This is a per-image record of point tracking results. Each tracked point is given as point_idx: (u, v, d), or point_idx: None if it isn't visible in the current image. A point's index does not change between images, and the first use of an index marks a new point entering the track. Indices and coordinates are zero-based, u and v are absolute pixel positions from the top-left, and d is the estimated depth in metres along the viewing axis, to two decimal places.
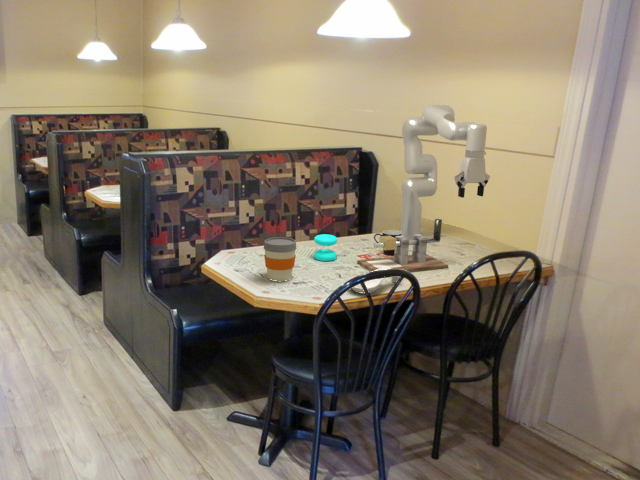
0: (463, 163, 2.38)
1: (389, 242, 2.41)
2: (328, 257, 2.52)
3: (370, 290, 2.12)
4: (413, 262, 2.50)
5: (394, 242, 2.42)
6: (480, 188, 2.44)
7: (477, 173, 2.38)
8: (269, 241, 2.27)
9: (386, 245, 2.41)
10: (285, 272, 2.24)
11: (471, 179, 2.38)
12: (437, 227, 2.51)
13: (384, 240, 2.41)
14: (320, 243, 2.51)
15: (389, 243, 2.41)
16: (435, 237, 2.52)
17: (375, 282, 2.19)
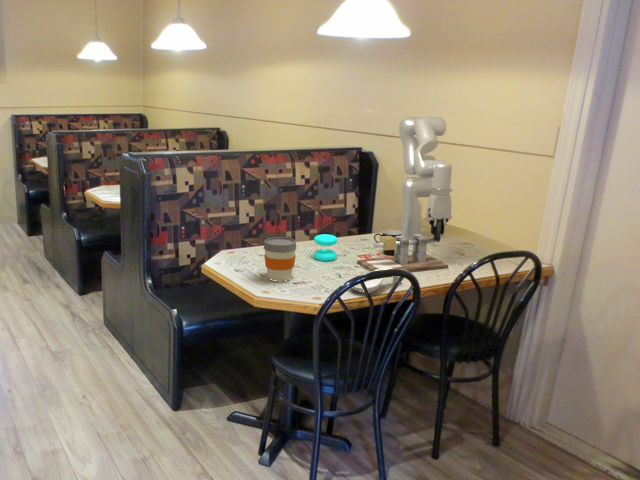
0: (429, 200, 2.48)
1: (389, 242, 2.41)
2: (328, 257, 2.52)
3: (370, 290, 2.13)
4: (413, 262, 2.50)
5: (394, 242, 2.42)
6: None
7: (443, 210, 2.48)
8: (269, 241, 2.27)
9: (386, 245, 2.41)
10: (285, 272, 2.24)
11: (437, 215, 2.48)
12: (437, 227, 2.51)
13: (384, 240, 2.41)
14: (320, 243, 2.51)
15: (389, 243, 2.41)
16: (435, 237, 2.52)
17: (376, 282, 2.20)
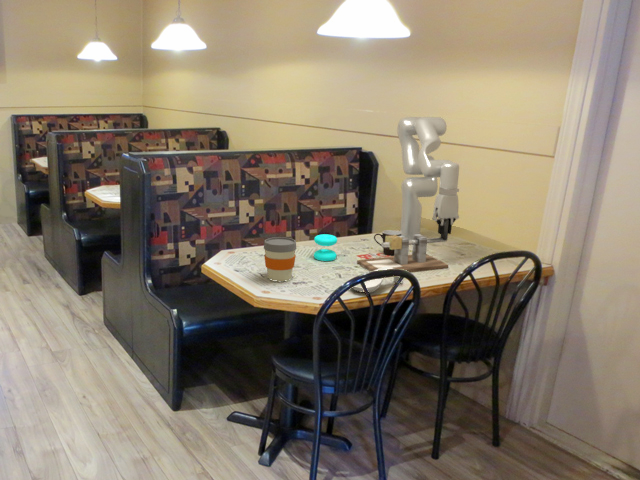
0: (437, 200, 2.50)
1: (395, 241, 2.42)
2: (328, 257, 2.52)
3: (370, 289, 2.13)
4: (413, 262, 2.50)
5: (400, 241, 2.43)
6: None
7: (450, 209, 2.50)
8: (269, 241, 2.27)
9: (392, 244, 2.42)
10: (285, 272, 2.24)
11: (444, 215, 2.50)
12: (444, 227, 2.53)
13: (390, 239, 2.42)
14: (320, 243, 2.51)
15: (395, 242, 2.42)
16: (442, 236, 2.54)
17: (376, 281, 2.20)
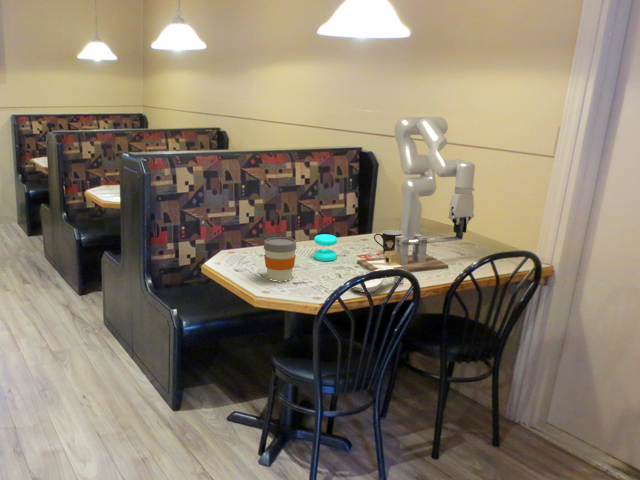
0: (453, 199, 2.53)
1: (394, 257, 2.44)
2: (328, 257, 2.52)
3: (371, 289, 2.13)
4: (413, 262, 2.50)
5: (399, 257, 2.45)
6: None
7: (466, 208, 2.53)
8: (269, 241, 2.27)
9: (391, 260, 2.44)
10: (285, 272, 2.24)
11: (460, 214, 2.53)
12: (460, 225, 2.56)
13: (389, 255, 2.44)
14: (320, 243, 2.51)
15: (394, 258, 2.44)
16: (458, 235, 2.57)
17: (376, 281, 2.20)
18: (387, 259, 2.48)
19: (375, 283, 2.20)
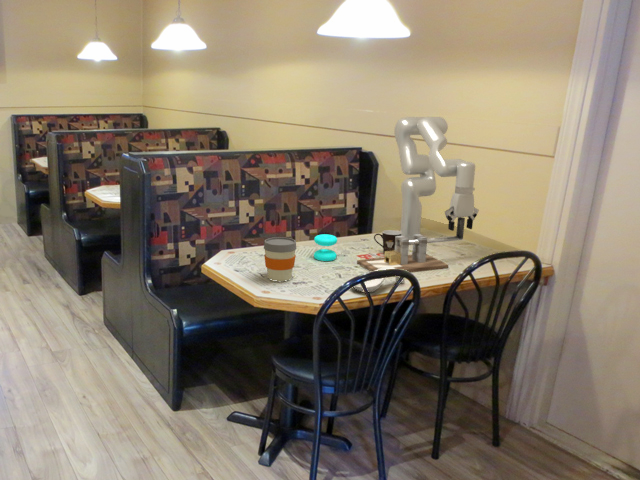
0: (453, 198, 2.53)
1: (394, 257, 2.44)
2: (328, 257, 2.52)
3: (371, 289, 2.14)
4: (413, 262, 2.50)
5: (399, 257, 2.45)
6: (469, 221, 2.59)
7: (466, 208, 2.53)
8: (269, 241, 2.27)
9: (391, 260, 2.44)
10: (285, 272, 2.24)
11: (460, 213, 2.53)
12: (460, 225, 2.56)
13: (389, 255, 2.44)
14: (320, 243, 2.51)
15: (394, 258, 2.44)
16: (458, 235, 2.57)
17: (377, 281, 2.21)
18: (387, 259, 2.48)
19: (376, 283, 2.20)
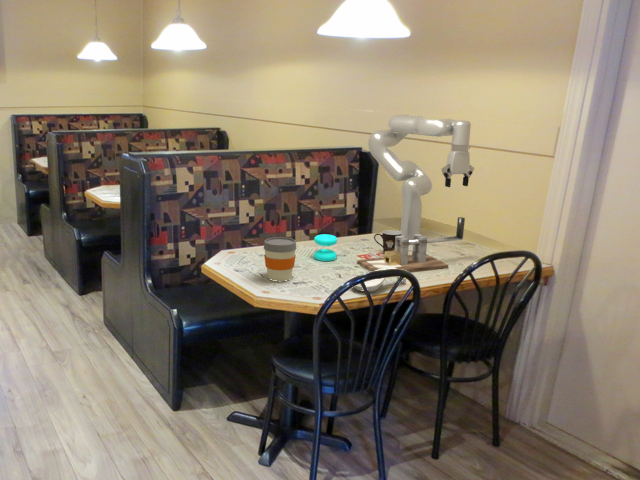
0: (449, 156, 2.63)
1: (394, 257, 2.44)
2: (328, 257, 2.52)
3: (371, 288, 2.14)
4: (413, 262, 2.50)
5: (399, 257, 2.45)
6: (465, 179, 2.69)
7: (462, 165, 2.64)
8: (269, 241, 2.27)
9: (391, 260, 2.44)
10: (285, 272, 2.24)
11: (456, 170, 2.64)
12: (460, 225, 2.56)
13: (389, 255, 2.44)
14: (320, 243, 2.51)
15: (394, 258, 2.44)
16: (458, 235, 2.57)
17: (378, 281, 2.21)
18: (387, 259, 2.48)
19: (376, 282, 2.21)
